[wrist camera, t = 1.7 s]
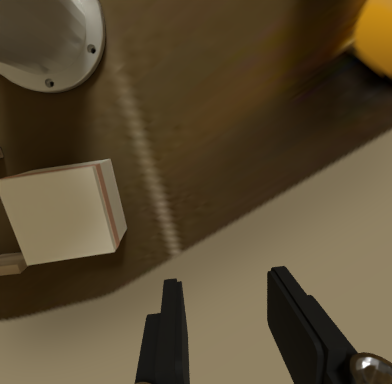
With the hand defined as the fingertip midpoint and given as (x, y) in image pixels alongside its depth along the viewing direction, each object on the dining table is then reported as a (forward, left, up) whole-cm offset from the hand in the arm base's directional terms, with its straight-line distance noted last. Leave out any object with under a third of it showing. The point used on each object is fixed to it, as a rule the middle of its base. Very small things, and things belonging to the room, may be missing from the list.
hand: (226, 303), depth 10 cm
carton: (0, -14, -19) cm, 24 cm away
